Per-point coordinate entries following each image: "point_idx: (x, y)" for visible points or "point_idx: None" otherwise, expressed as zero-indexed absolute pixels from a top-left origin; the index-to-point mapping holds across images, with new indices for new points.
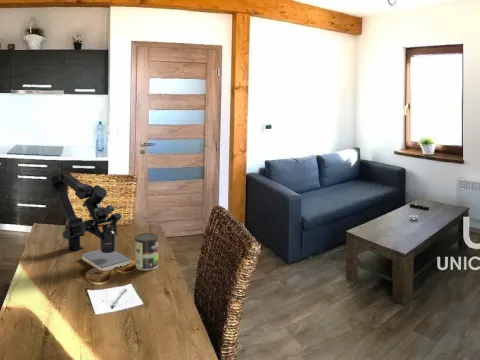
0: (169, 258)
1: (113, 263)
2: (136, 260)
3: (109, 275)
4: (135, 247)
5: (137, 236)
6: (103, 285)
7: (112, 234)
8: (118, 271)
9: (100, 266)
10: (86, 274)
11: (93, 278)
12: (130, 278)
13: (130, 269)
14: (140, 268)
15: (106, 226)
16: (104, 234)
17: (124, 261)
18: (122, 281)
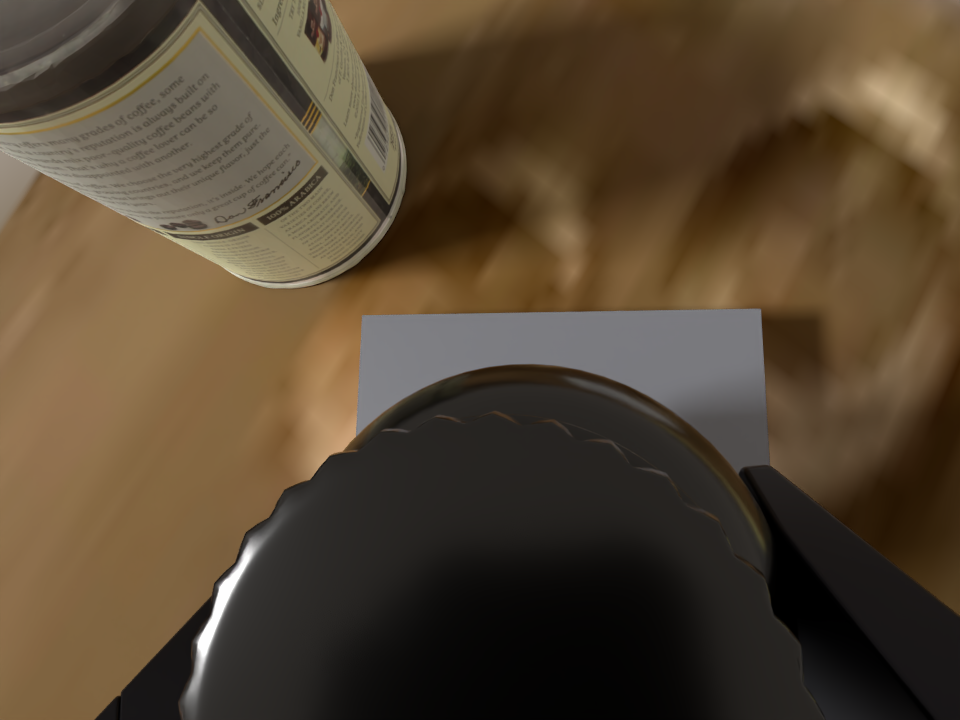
0: (36, 203)
1: (588, 325)
2: (373, 142)
3: (712, 206)
4: (290, 64)
5: (75, 13)
6: (879, 30)
7: (492, 370)
8: (584, 238)
9: (762, 354)
10: (922, 394)
11: (897, 242)
12: (580, 23)
13: (462, 206)
14: (393, 121)
15: (630, 665)
16: (740, 491)
17: (445, 315)
18: (677, 7)
